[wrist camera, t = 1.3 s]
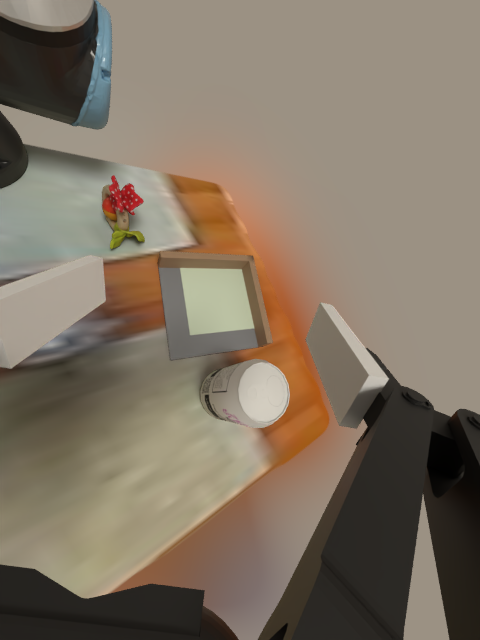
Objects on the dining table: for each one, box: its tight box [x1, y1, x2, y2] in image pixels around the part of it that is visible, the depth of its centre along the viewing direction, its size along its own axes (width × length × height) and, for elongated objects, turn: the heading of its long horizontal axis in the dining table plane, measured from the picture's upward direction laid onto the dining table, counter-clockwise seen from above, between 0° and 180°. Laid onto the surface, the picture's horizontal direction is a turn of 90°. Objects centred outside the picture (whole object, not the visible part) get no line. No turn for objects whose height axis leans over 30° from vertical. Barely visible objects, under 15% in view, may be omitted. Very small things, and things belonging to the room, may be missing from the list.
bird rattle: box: [102, 175, 145, 249], centre depth 37 cm, size 6×11×9 cm
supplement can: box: [200, 359, 290, 428], centre depth 34 cm, size 8×8×15 cm
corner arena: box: [158, 251, 273, 360], centre depth 43 cm, size 18×18×4 cm
